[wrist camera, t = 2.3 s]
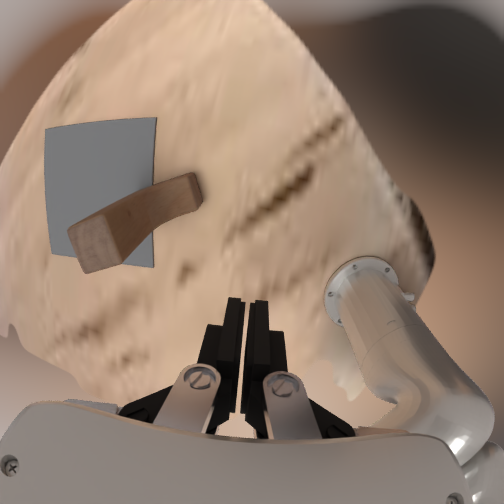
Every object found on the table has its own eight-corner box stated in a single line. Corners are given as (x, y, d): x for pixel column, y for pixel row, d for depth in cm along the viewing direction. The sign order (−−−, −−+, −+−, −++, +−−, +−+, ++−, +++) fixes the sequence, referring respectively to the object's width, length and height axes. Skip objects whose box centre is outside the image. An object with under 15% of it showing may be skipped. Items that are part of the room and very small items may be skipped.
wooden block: (194, 171, 36) (152, 195, 19) (203, 202, 37) (171, 251, 21) (135, 191, 36) (63, 229, 20) (145, 220, 38) (83, 276, 21)
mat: (156, 117, 33) (155, 117, 33) (154, 266, 41) (153, 268, 41) (46, 129, 33) (45, 129, 33) (53, 253, 41) (51, 253, 41)
